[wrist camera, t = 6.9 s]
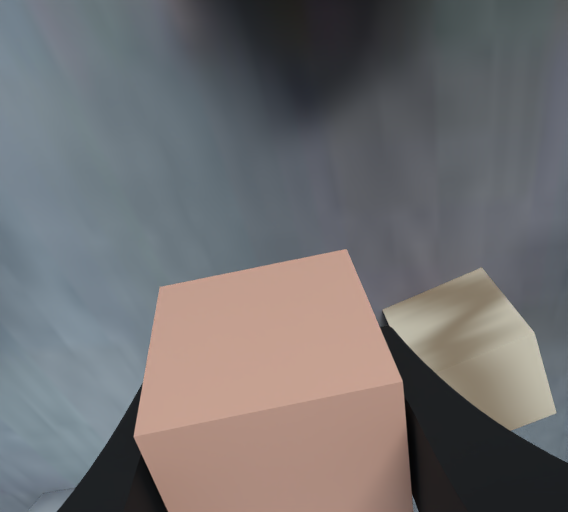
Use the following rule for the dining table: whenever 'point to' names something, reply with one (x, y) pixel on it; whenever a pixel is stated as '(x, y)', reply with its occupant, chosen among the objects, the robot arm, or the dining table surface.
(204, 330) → the terracotta block
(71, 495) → the robot arm
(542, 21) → the dining table surface
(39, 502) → the salt shaker
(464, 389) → the maple block
